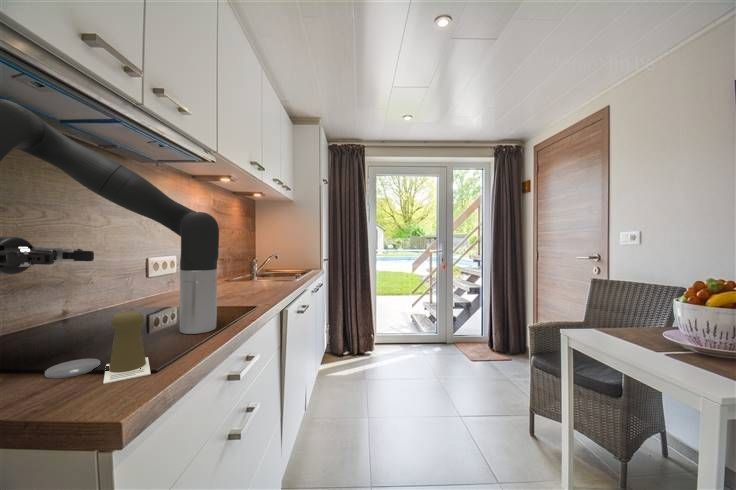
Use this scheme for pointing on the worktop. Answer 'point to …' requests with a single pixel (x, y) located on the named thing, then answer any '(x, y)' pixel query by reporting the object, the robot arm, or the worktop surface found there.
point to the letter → (127, 373)
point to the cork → (127, 342)
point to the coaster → (72, 368)
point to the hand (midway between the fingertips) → (73, 257)
